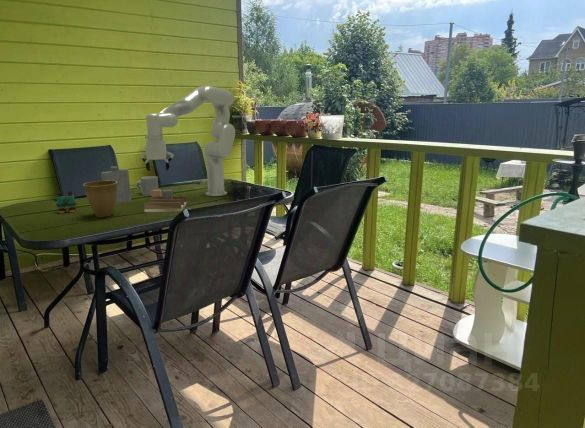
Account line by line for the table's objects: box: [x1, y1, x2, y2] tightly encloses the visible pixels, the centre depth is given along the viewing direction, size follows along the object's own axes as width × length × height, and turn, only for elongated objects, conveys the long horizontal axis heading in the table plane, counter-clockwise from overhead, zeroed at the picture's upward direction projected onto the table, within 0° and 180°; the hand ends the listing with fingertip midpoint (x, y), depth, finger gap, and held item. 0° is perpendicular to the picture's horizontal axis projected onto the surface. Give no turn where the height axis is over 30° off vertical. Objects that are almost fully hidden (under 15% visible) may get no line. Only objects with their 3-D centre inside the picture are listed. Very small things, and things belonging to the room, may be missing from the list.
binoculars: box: [56, 190, 77, 214], centre depth 220 cm, size 9×11×10 cm
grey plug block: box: [162, 189, 174, 199], centre depth 229 cm, size 4×4×7 cm
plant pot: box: [82, 180, 117, 218], centre depth 209 cm, size 15×15×16 cm
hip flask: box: [100, 165, 132, 205], centre depth 238 cm, size 16×4×20 cm, turn 146°
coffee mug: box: [135, 175, 160, 196], centre depth 264 cm, size 13×10×10 cm
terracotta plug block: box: [151, 189, 163, 198], centre depth 239 cm, size 4×4×7 cm
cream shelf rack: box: [143, 195, 188, 213], centre depth 226 cm, size 18×18×4 cm
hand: (158, 170), depth 232 cm, fingers open, 9 cm apart
